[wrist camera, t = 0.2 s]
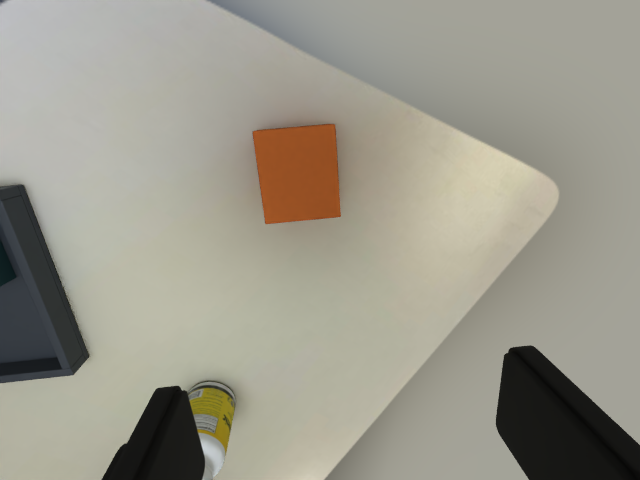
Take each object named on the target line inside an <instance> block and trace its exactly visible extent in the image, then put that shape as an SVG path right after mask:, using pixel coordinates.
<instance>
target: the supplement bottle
mask: <svg viewBox="0 0 640 480" xmlns="http://www.w3.org/2000/svg"><path fill="white" fill-rule="evenodd" d="M188 397H189V401H190V404H191V408H192V412H193V415H194V419H195V423H196V426H197V430H198V434H199V437H200V441H201V445H202V448H203V452H204V456H205V470H204V475H203V479H202V480H213V477H214V476H215V475H216V474H217V473H218V472H219V471H220V470H221V468H222V466H223V463H224V460H225V456H226V451H227V446H228V441H229V436H230V430H231V425H232V420H233V415H234V410H235V397H234V394H233V393H232V391H231V390H230V389H229V388H228V387H226V386H225V385H223V384H220V383H216V382H204V383H200V384H198V385H196V386H194V387H193V388H192V389H190V391H189V392H188Z"/></svg>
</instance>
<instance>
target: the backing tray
mask: <svg viewBox="0 0 640 480" xmlns="http://www.w3.org/2000/svg"><path fill="white" fill-rule="evenodd" d="M0 240H1V242H2V244H3V247H4V249H5V251H6V254H7V256H8V258H9V261H10V263H11V265H12V268H13V270H14V272H15V275H16V278H15V279H13V280H11V281H9V282H8V283H6V284H4V285H2V286H0V383H6V382H15V381H24V380H33V379H42V378H51V377H60V376H69V375H74V374H75V373H76V371H77V370H78V369H79V368H80V367H81V366H82V365H83V363H84V362H85V361H86V360H87V359H88V358H89V355H88V353H87V350H86V347H85V345H84V342H83V340H82V337H81V334H80V332H79V329H78V327H77V324H76V321H75V319H74V316H73V314H72V311H71V308H70V306H69V303H68V301H67V298H66V295H65V293H64V290H63V288H62V285H61V282H60V280H59V277H58V275H57V272H56V269H55V267H54V264H53V262H52V259H51V256H50V254H49V251H48V249H47V246H46V243H45V241H44V238H43V236H42V233H41V230H40V228H39V225H38V223H37V220H36V217H35V215H34V212H33V210H32V207H31V204H30V202H29V199H28V197H27V194H26V191H25V189H24V186H23V185H12V186H1V187H0Z"/></svg>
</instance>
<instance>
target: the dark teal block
mask: <svg viewBox="0 0 640 480" xmlns="http://www.w3.org/2000/svg"><path fill="white" fill-rule="evenodd" d="M15 278H16V275H15V272H14V270H13V268H12V265H11V263H10V261H9V258H8V256H7V254H6V251H5V249H4V247H3V244H2V242H1V240H0V286H2V285H4V284H6V283H8V282H9V281H11V280H13V279H15Z"/></svg>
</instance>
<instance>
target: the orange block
mask: <svg viewBox="0 0 640 480" xmlns="http://www.w3.org/2000/svg"><path fill="white" fill-rule="evenodd" d="M253 139H254V146H255V153H256V160H257V167H258V174H259V181H260V189H261V196H262V203H263V210H264V217H265V223H266V224H271V223H282V222H292V221H303V220H313V219H323V218H334V217H340V216H341V213H340V197H339V180H338V163H337V147H336V130H335V125H334V124H324V125H312V126H300V127H288V128H277V129H265V130H257V131H253Z"/></svg>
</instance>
